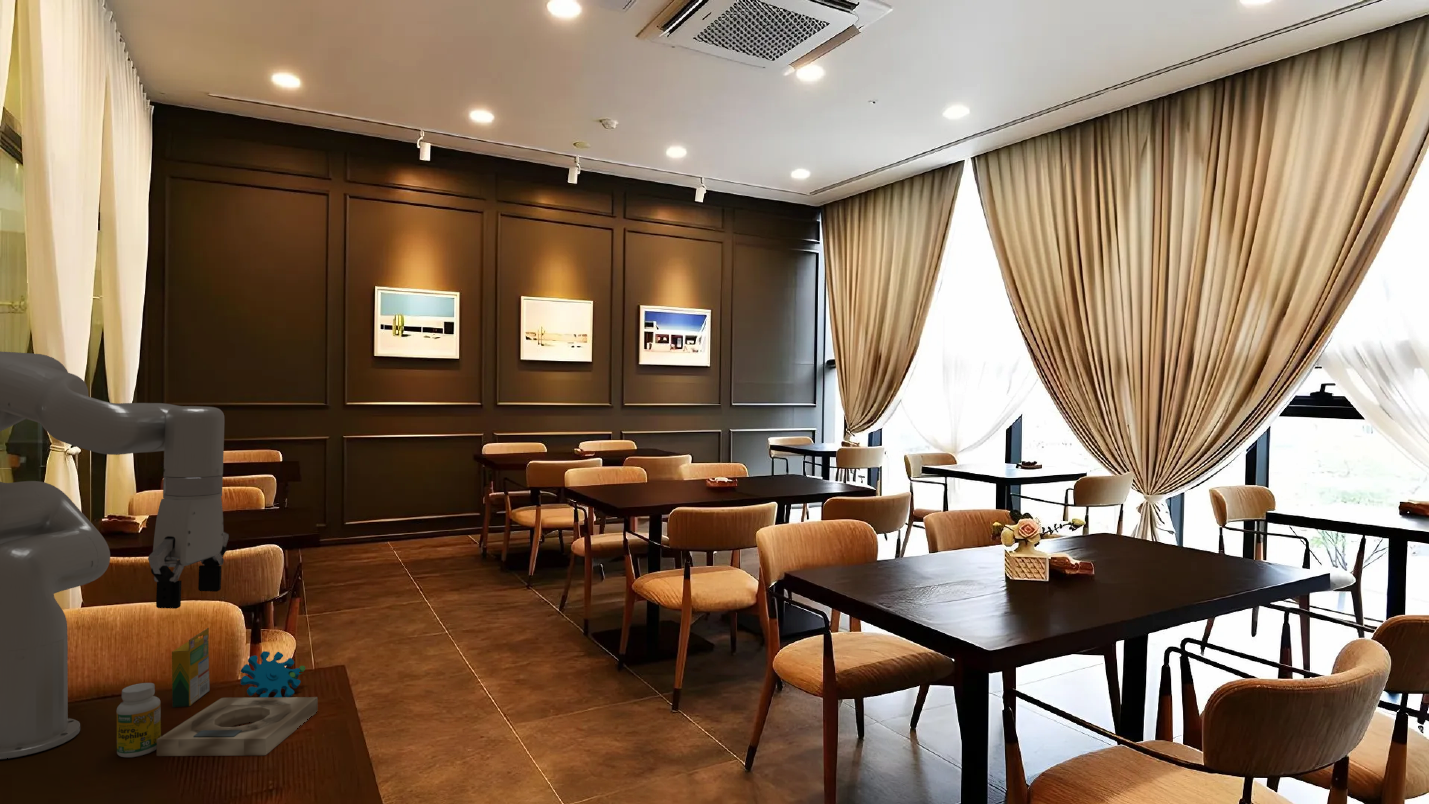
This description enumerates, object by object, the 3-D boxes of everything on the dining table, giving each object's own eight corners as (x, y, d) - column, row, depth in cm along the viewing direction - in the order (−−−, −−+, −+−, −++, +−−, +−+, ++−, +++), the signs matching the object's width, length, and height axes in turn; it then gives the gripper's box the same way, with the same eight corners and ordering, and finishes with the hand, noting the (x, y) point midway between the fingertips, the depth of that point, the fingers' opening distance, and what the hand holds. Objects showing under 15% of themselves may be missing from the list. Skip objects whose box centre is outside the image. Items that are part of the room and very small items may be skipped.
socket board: (156, 756, 115) (156, 738, 115) (222, 712, 131) (222, 696, 131) (265, 755, 116) (265, 737, 116) (317, 711, 132) (317, 695, 132)
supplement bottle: (166, 740, 121) (166, 679, 120) (151, 756, 115) (151, 691, 115) (126, 744, 119) (126, 682, 119) (109, 760, 114) (109, 695, 114)
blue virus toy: (250, 703, 131) (237, 652, 136) (235, 722, 133) (223, 672, 138) (314, 692, 140) (300, 644, 145) (300, 710, 142) (286, 663, 147)
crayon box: (192, 691, 140) (192, 628, 140) (210, 690, 141) (210, 627, 141) (170, 707, 133) (170, 640, 133) (189, 706, 134) (190, 639, 134)
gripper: (203, 480, 127) (200, 584, 127) (127, 493, 109) (123, 614, 109) (250, 481, 127) (246, 585, 127) (181, 495, 110) (177, 616, 110)
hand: (189, 599), depth 118 cm, fingers open, 9 cm apart
